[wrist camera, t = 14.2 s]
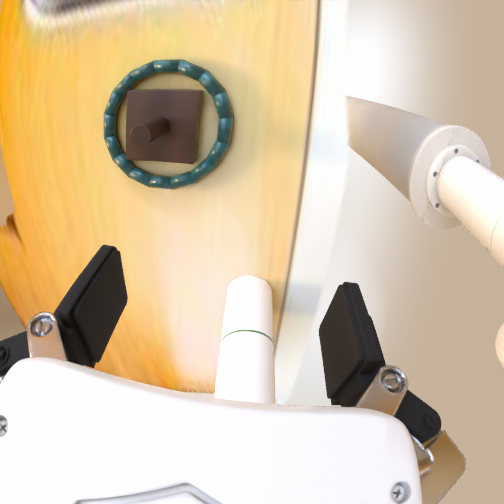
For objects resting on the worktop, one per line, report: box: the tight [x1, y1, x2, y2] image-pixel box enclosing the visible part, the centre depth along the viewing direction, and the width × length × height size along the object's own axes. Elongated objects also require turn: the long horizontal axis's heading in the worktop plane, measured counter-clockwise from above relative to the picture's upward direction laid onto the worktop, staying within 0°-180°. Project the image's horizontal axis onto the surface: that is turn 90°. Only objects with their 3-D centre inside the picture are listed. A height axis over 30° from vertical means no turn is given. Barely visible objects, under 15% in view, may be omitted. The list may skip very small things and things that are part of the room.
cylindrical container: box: [214, 276, 275, 404], centre depth 35 cm, size 7×7×25 cm
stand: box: [126, 89, 202, 164], centre depth 27 cm, size 9×9×8 cm
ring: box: [104, 60, 233, 189], centre depth 30 cm, size 17×17×2 cm
